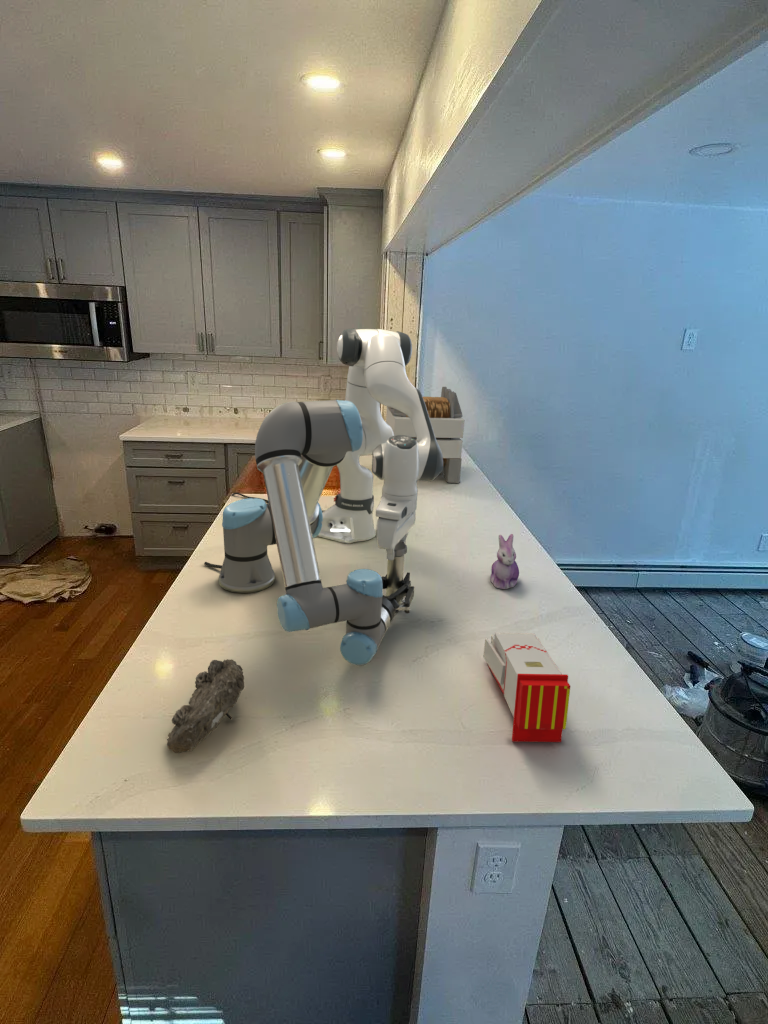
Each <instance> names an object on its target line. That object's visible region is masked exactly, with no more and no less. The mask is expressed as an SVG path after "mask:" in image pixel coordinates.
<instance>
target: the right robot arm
mask: <svg viewBox="0 0 768 1024" xmlns="http://www.w3.org/2000/svg"><path fill="white" fill-rule="evenodd" d="M336 353H337V357H338V360H339V361H340V362H341V363H342V364H343V365H345V366H348V371H347V376H346V377H347V378H346V386H345V387H346V388H345V398H344V401H350V402H352V403H353V404H354V405H355V406H356V407H357V409H358V411H359V414H360V417H361V422H362V429H363V441H362V445H361V447H360V449H359V450H357V451H354V452H352V451H348V452H347V453H346V455H345V457H344V459H343V460H342V461H341V462H340V463H339V464H338V465H336V467H337V470H338V473H339V482H340V484H339V485H340V488H339V489H340V490H339V491H338V492H337V494H336V495H335V496H334V497H333V502H334V504H333V505H331V506H329V507H328V508H326V509H324V510H322V514H323V521H322V528H321V531H320V533H319V534H318V536H317V537H319V538H323V539H326V540H330V541H336V542H339V543H343V544H352V543H357V542H365V541H368V540H372V539H373V538H375V537H376V543H377V547H378V548H379V549H382V550H385V552H386V560H387V561H388V560H391V561H392V560H393V559H394V558H395V552H394V548H395V546H396V544H397V543H398V542H401V543H404V544H406V545H407V540H408V535H409V532H410V530H411V529H413V527H414V526H415V524H416V517H417V516H416V515H417V514H416V513H417V512H416V511H417V510H418V509H417V507H418V492H419V490H418V485H417V483H418V481H421V482H432V481H434V480H435V479H436V478H437V477H439V476H440V474H441V472H442V470H443V456H442V452H441V449H440V447H439V445H438V443H437V441H436V438H435V435H434V432H433V428H432V425H431V422H430V418H429V415H428V412H427V408H426V405H425V402H424V399H423V397H424V396H423V394H422V392H421V390H420V389H419V388H417V387H415V386H414V385H413V384H412V382H411V380H410V379H409V377H408V374H407V370H406V366H407V365H408V364H409V363H410V362H411V358H412V354H413V344H412V339H411V338H410V336H409V335H408V334H407V333H405V332H401V331H398V330H397V331H394V330H393V331H392V330H389V329H382V328H375V329H374V328H359V329H358V328H357V329H356V328H346V329H344V330H342V331H341V333H340V334H339V337H338V339H337V341H336ZM381 405H383V406H385V407H387V406H388V407H391V408H394V409H397V410H399V411H401V412H403V413H405V414H406V415H407V416H408V417H409V418H410V419H411V421H412V423H413V427H414V430H415V434H416V437H417V441H418V443H417V441H416V440H415V439H414V438H412V437H409V436H404V435H396V436H394V432H393V430H392V428H391V427H390V426H389V425H388V424H387V423H386V420H385V419H384V417H383V415H382V411H381ZM366 456H367V457H368V456H372V459H371V469H369V468H367V467H366V466H364V465H362V464H361V463H360V457H366ZM374 475H375V476H376V477H377V478H378V479H379V480H381V481H382V480H383V485H382V488H381V496H380V500H379V503H378V505H377V507H376V508H375V496H374ZM235 495H238V496H241V497H242V498H244V499H247V498H253V499H255V498H256V497H254V496H248V495H245V494H243V493H241V492H233V493H232V494H231V495H230V496H231V497H234V496H235ZM258 498H259V499H262V500H264V501H265V503H267V504H269V502H268V499H265V498H260V497H258ZM374 509H375V517H377V522H376V528H375V523H374V513H373V512H374Z"/></svg>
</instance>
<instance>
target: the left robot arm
mask: <svg viewBox="0 0 768 1024" xmlns="http://www.w3.org/2000/svg"><path fill="white" fill-rule="evenodd" d="M362 441H363V429H362V422H361V417H360V414H359V411H358V409H357V407H356V406H355V405H354V404H353V403H352V402H350V401H345V400H342V399H341V400H340V399H331V400H311V401H310V400H309V401H308V400H307V401H287V402H283V403H281V404H279V405H277V406H275V407H274V408H273V409H272V410H271V411H269V412H268V413H267V415H266V416H265V417H264V419H263V420H262V421H261V424H260V426H259V429H258V432H257V434H256V438H255V443H254V457H255V465H256V468H257V470H258V471H259V472H261V473H262V476H263V481H264V486H265V491H266V496H267V500H268V502H269V503H268V502H265V501H264V500H262V499H263V498H261V499H259V498H260V497H255V499H253V498H242V499H238V500H235V501H233V502H230V503H229V504H228V505H226V506H225V507H224V508H223V511H222V523H221V526H222V533H223V550H224V559H223V561H222V565H221V564H215V563H210V562H209V561H208V562H207V561H204V562H203V565H204V566H207V567H209V568H214V569H219V570H220V572H219V575H218V583H219V585H220V587H221V588H222V589H224V590H225V591H228V592H231V593H236V594H249V593H256V592H260V591H263V590H265V589H268V588H270V587H271V586H272V585H273V584H274V583H275V570H274V568H273V566H272V563H271V561H270V558H269V555H268V546H274V545H276V547H277V553H278V558H279V559H278V560H279V563H280V569H281V574H282V581H283V584H284V591H285V594H283V595H281V596H279V597H278V598H277V600H276V601H277V602H276V609H277V611H276V614H277V618H278V622H279V624H280V627H281V628H282V629H283V630H284V631H285V632H287V633H293V632H299V631H308V630H311V629H314V628H318V627H323V626H327V625H332V624H337V623H341V622H345V634H344V635H342V639H341V642H340V645H339V650H340V653H341V656H342V657H343V658H344V660H345V661H347V662H348V663H349V664H351V665H354V666H363V665H367V664H368V663H370V662H371V661H372V660H373V658H374V656H375V655H376V654H377V652H378V649H379V647H380V645H381V643H382V641H383V639H384V637H385V635H386V633H387V631H388V629H389V627H390V625H391V624H392V621H393V620H394V618H395V615H397V613H399V612H400V611H403V612H404V613H405V614H409V613H410V611H411V610H410V609H411V603H412V602H413V599H414V596H415V586H414V585H412V581H411V572H409V571H407V572H406V574H405V576H403V581H402V585H401V587H400V588H399V589H398V590H397V591H396V592H395V593H392V594H391V595H390V596H386V595H384V590H386V583H387V573H386V574H385V576H383V575H380V574H379V573H378V572H377V571H375V570H373V569H369V568H358V569H354V570H353V571H350V572H349V573H348V575H347V578H346V583H342V584H337V585H331V586H327V587H324V586H323V584H322V577H321V572H320V568H319V562H318V558H317V553H316V548H315V542H314V539H315V538H317V537H319V536H318V534H319V533H320V531H321V528H322V521H323V514H322V511H323V510H322V509H323V508H322V507H321V504H320V503H319V501H320V498H321V496H322V493H323V491H324V489H325V487H326V485H327V482H328V479H329V478H330V475H331V473H332V471H333V468H334V467H337V465H338V464H339V463H340V462H341V461H342V460H343V459H344V457H345V455H346V453H347V452H348V451H352V452H354V451H357V450H359V449H360V447H361V445H362ZM403 599H404V600H403ZM400 600H402V603H401V605H399V604H398V602H399V601H400Z"/></svg>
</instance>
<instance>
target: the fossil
mask: <svg viewBox="0 0 768 1024" xmlns="http://www.w3.org/2000/svg"><path fill="white" fill-rule="evenodd" d="M243 670H244V669H243V667H242V665H240V664H237V662H236V661H235V660H234V659H232V658H231V659H227V658H226V659H224V660H223V661H222V660H217V659H212V660H211V661H210V663H209V665H208V666H207V671H201V672H199V673H198V674H197V675H196V676H195V680H194V684H195V685H194V687H195V689H194V690H193V693H192V694H191V697H190V698H189V700H188V704H184V705H182V706H181V707H180V709H177V710H176V711H175V713H174V715H173V716H172V718H171V723H172V724H173V727H172V730H171V731H170V732H168V734H167V738H166V741H167V742H166V745H167V749H168V750H169V751H173V752H174V753H176V754H178V753H182V752H188V751H189V752H192V751H193V750H195V748H196V747H197V746H199V744H200V743H201V742H203V741H204V740H205V739H206V738H207V737H208V736H209V735H210V734H211V733H212V732H214V730H215V729H217V727H218V726H219V724H220V722H221V721H222V720H223V719H224V718H225V716H226V717H227V719H229V720H233V717H232V715H230V714H229V710H230V709H231V708H234V706H235V704H236V703H237V702H238V699H239V697H240V695H241V693H242V691H243V690H245V689H244V688H245V675H244V671H243Z"/></svg>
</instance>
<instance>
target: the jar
mask: <svg viewBox="0 0 768 1024" xmlns="http://www.w3.org/2000/svg"><path fill="white" fill-rule="evenodd" d="M386 564H387V565H386V574H387V583H386V589H385V596H390V595H391V594H392V593H395V592H396V591H397V590H398V589H399V588H400V587H401V585H402V581H403V579H404V572H405V571H404V568H405V555H402V556H395V558H394V559H393V560H392V561H391V560H387V563H386ZM402 601H403V599H402V600H400V601H399V602H398V604H399V605H401V603H402Z"/></svg>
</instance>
